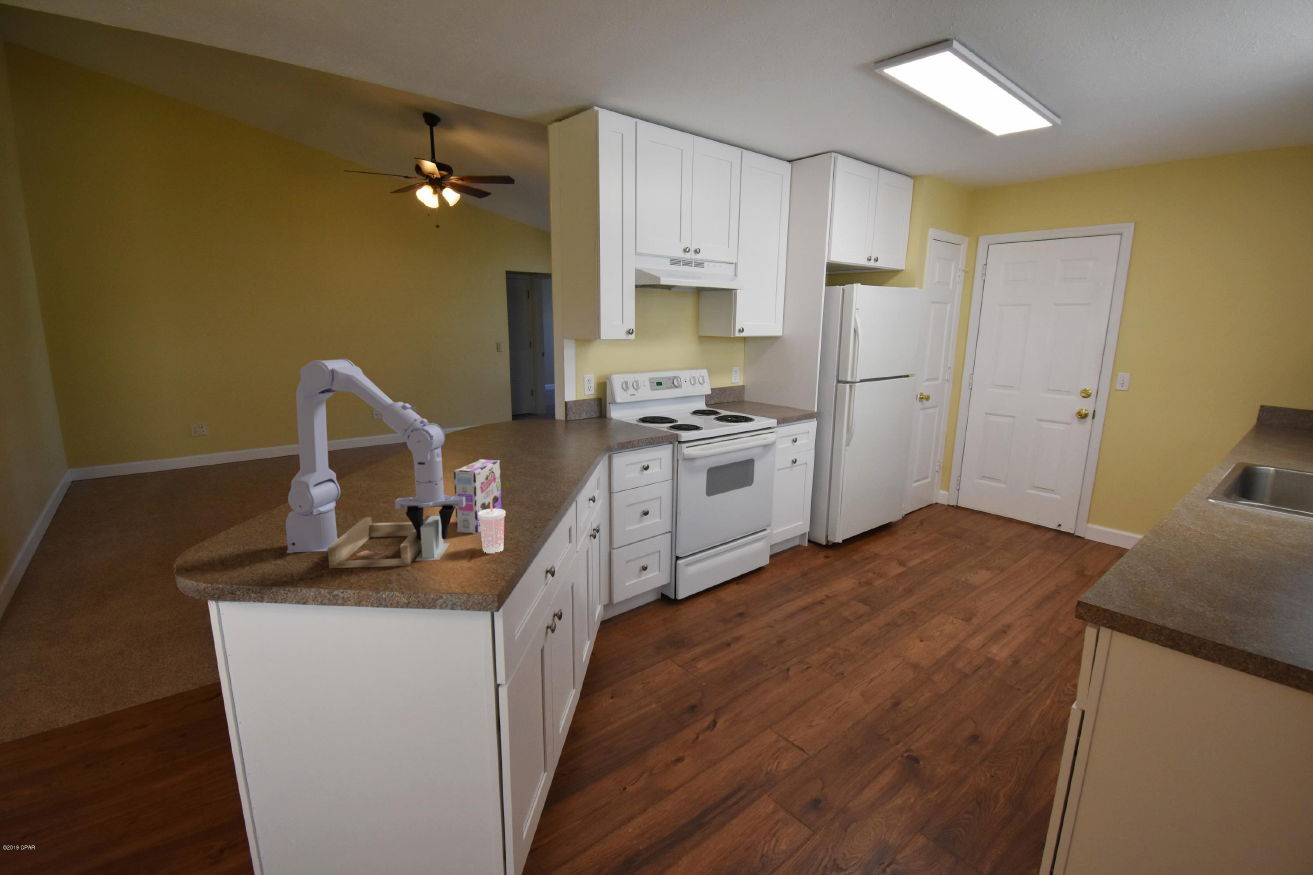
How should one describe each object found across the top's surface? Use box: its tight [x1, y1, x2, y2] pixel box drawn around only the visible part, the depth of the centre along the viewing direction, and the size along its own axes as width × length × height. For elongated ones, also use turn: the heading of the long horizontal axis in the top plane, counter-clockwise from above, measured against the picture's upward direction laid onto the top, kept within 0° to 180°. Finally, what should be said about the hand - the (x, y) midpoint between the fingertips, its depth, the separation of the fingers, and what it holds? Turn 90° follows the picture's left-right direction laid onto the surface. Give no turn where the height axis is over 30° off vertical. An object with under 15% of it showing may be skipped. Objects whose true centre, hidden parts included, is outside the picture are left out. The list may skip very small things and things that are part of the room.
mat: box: [414, 542, 451, 562], centre depth 128 cm, size 5×10×1 cm, turn 7°
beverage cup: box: [478, 491, 506, 554], centre depth 130 cm, size 6×6×14 cm
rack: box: [327, 515, 431, 569], centre depth 129 cm, size 16×20×5 cm
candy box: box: [453, 458, 503, 535], centre depth 146 cm, size 14×6×16 cm, turn 168°
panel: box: [421, 515, 444, 558], centre depth 128 cm, size 8×2×7 cm, turn 7°
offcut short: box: [355, 550, 388, 560], centre depth 124 cm, size 6×2×1 cm, turn 70°
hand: (433, 537), depth 128 cm, fingers open, 4 cm apart
